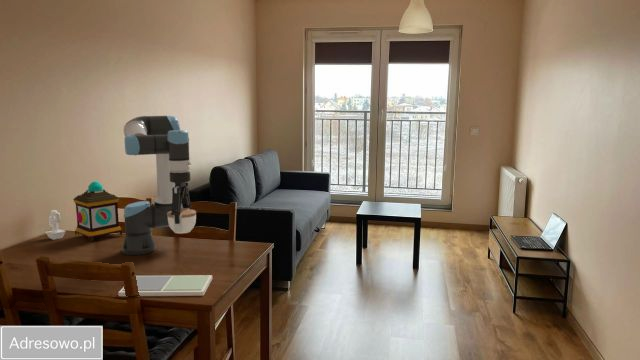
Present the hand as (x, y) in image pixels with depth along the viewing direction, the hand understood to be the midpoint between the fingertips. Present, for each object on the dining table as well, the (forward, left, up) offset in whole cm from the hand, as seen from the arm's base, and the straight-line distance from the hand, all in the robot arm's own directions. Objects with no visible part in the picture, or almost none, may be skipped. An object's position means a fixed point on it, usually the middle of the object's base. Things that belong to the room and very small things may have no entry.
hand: (182, 228), depth 180 cm
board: (-6, -3, -23) cm, 24 cm away
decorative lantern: (-63, +69, -23) cm, 96 cm away
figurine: (-84, +66, -23) cm, 109 cm away
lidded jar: (0, 0, -2) cm, 2 cm away
